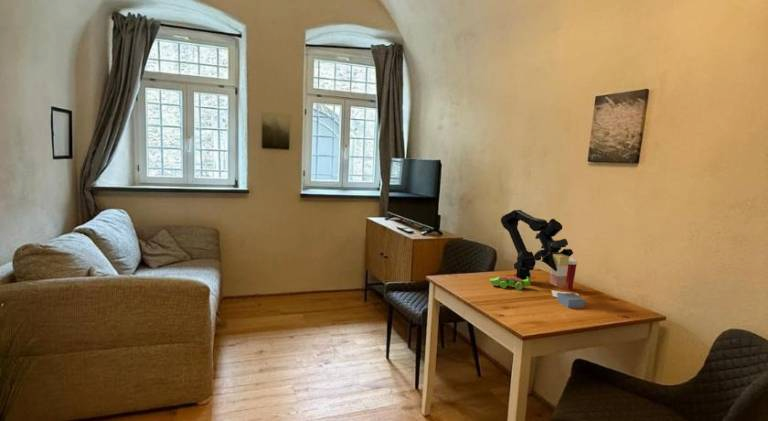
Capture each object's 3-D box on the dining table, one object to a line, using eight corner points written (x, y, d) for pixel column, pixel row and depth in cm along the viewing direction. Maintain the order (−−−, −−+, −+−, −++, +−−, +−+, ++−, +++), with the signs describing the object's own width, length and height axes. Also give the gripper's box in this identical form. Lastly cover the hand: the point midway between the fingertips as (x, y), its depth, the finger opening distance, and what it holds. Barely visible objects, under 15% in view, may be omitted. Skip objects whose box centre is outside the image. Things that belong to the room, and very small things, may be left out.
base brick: (557, 301, 191) (558, 293, 191) (573, 301, 193) (574, 293, 192) (567, 308, 184) (568, 299, 183) (584, 308, 185) (585, 299, 184)
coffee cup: (571, 286, 215) (574, 258, 213) (576, 291, 207) (580, 262, 204) (554, 285, 215) (557, 256, 213) (559, 290, 207) (562, 261, 205)
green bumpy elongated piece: (489, 287, 207) (490, 275, 206) (489, 283, 214) (490, 272, 213) (531, 291, 204) (532, 279, 203) (529, 287, 210) (530, 275, 209)
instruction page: (552, 296, 197) (553, 295, 197) (551, 290, 206) (551, 290, 206) (580, 300, 194) (580, 299, 194) (577, 294, 202) (578, 293, 202)
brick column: (549, 282, 197) (552, 254, 195) (558, 282, 199) (561, 253, 197) (556, 286, 193) (560, 256, 191) (565, 285, 194) (569, 256, 192)
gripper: (540, 233, 193) (554, 262, 185) (572, 232, 199) (587, 260, 190) (527, 245, 202) (540, 274, 193) (559, 244, 208) (573, 272, 199)
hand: (561, 270), depth 194 cm, fingers closed on brick column, 5 cm apart
